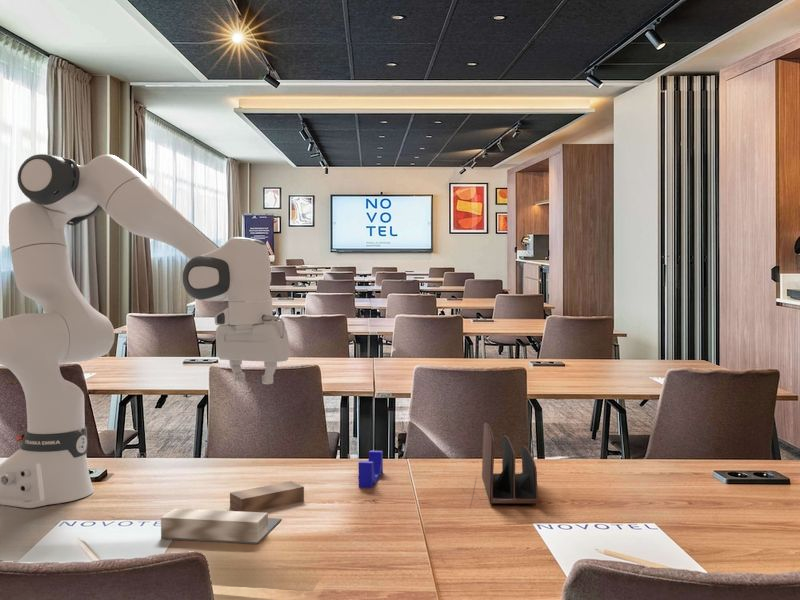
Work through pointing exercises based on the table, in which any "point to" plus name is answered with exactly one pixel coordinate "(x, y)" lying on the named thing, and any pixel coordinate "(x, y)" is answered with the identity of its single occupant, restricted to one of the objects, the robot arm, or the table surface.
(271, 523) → the underlay mat
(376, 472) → the cable clip
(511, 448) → the letter holder
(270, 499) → the walnut plank
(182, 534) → the beige wooden block
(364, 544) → the table surface
